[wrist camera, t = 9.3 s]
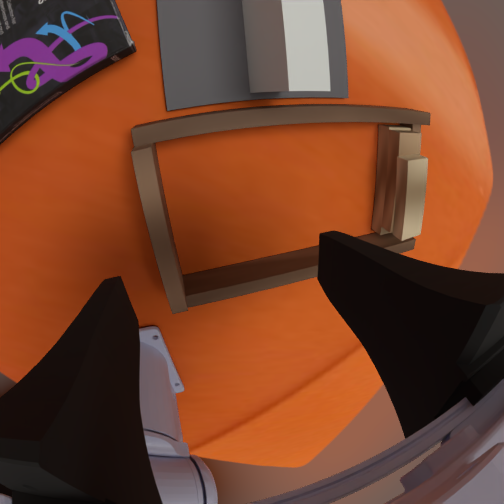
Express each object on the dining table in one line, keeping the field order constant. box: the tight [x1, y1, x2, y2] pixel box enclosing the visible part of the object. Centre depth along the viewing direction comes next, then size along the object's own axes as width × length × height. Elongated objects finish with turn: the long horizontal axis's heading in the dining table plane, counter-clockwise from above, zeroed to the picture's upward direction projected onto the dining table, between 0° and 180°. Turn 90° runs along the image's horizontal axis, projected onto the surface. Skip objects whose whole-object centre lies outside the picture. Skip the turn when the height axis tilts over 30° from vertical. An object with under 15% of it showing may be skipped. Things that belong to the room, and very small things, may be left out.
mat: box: [157, 0, 348, 111], centre depth 14 cm, size 9×12×1 cm
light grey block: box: [242, 0, 330, 93], centre depth 12 cm, size 8×2×6 cm, turn 5°
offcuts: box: [371, 125, 428, 241], centre depth 20 cm, size 9×3×4 cm, turn 5°
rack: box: [131, 104, 430, 314], centre depth 19 cm, size 12×20×4 cm, turn 95°
